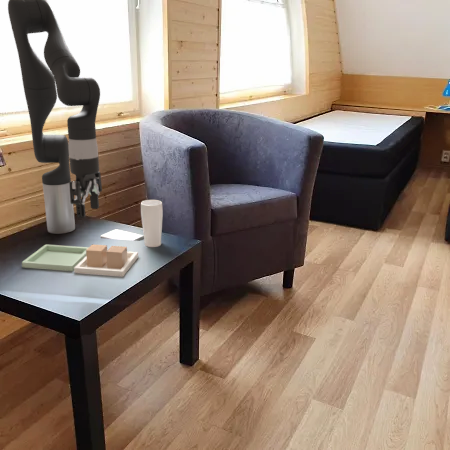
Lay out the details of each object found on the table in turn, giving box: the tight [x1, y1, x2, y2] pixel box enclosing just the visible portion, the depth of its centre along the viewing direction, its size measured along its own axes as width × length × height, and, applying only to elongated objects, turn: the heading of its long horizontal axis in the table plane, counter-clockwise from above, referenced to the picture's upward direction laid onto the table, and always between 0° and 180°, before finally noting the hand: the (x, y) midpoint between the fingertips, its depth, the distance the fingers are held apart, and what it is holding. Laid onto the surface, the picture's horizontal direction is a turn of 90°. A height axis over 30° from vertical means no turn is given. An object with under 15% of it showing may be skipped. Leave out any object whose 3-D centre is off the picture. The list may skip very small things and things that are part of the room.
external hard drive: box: [100, 228, 144, 242], centre depth 161 cm, size 2×8×12 cm
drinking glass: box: [140, 199, 164, 248], centre depth 151 cm, size 7×7×15 cm
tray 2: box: [73, 250, 139, 278], centre depth 138 cm, size 14×14×2 cm
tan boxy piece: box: [86, 244, 108, 267], centre depth 137 cm, size 4×4×5 cm
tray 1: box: [21, 244, 90, 272], centre depth 140 cm, size 14×15×2 cm
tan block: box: [106, 245, 128, 269], centre depth 136 cm, size 4×4×5 cm
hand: (88, 212), depth 132 cm, fingers open, 8 cm apart
